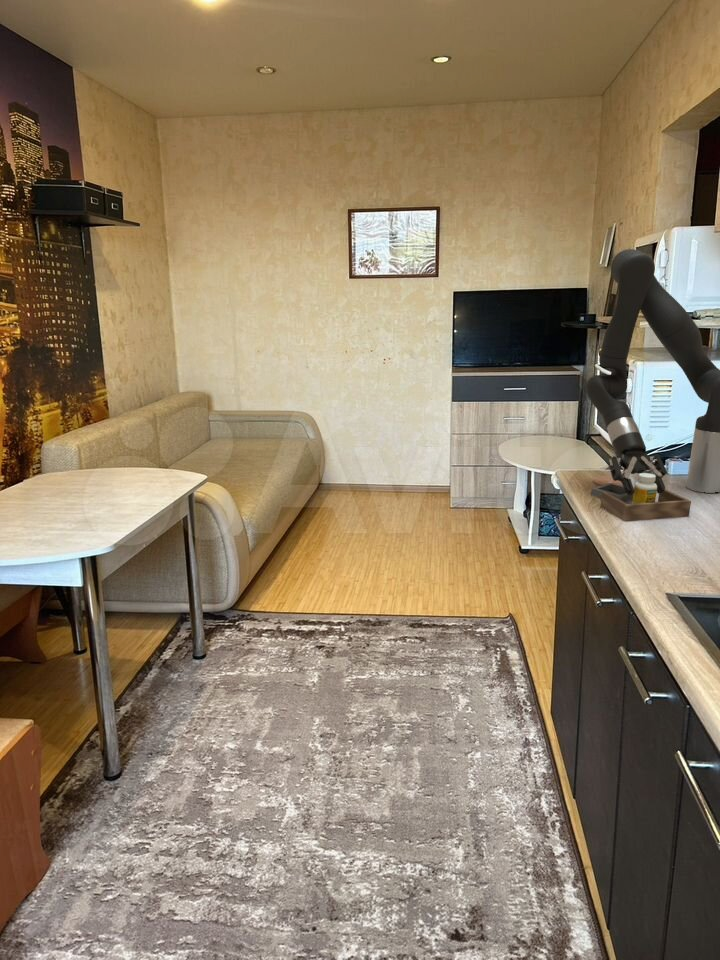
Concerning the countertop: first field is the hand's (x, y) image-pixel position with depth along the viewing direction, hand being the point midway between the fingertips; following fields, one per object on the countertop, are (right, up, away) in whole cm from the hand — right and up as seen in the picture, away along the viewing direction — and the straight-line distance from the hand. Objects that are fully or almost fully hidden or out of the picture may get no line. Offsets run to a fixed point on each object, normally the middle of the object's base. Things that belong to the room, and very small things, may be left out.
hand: (646, 492), depth 171 cm
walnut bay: (0, -5, +2) cm, 5 cm away
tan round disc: (0, +2, +25) cm, 26 cm away
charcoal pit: (-3, -1, +14) cm, 14 cm away
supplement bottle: (0, -5, +2) cm, 5 cm away
